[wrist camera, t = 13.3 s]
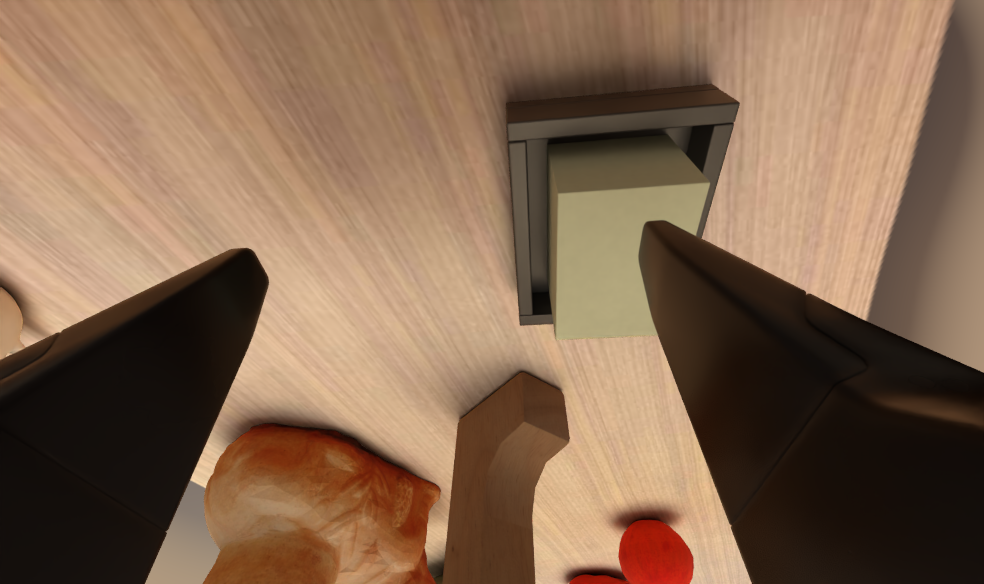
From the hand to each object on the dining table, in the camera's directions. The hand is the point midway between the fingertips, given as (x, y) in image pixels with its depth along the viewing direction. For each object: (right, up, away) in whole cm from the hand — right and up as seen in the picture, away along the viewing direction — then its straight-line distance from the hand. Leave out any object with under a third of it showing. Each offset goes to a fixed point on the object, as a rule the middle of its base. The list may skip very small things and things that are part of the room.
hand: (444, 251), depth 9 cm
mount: (+7, +4, +12) cm, 15 cm away
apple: (+20, -29, +40) cm, 53 cm away
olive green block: (+7, +3, +12) cm, 14 cm away
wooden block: (+2, -10, +25) cm, 27 cm away
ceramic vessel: (-13, -20, +34) cm, 42 cm away
